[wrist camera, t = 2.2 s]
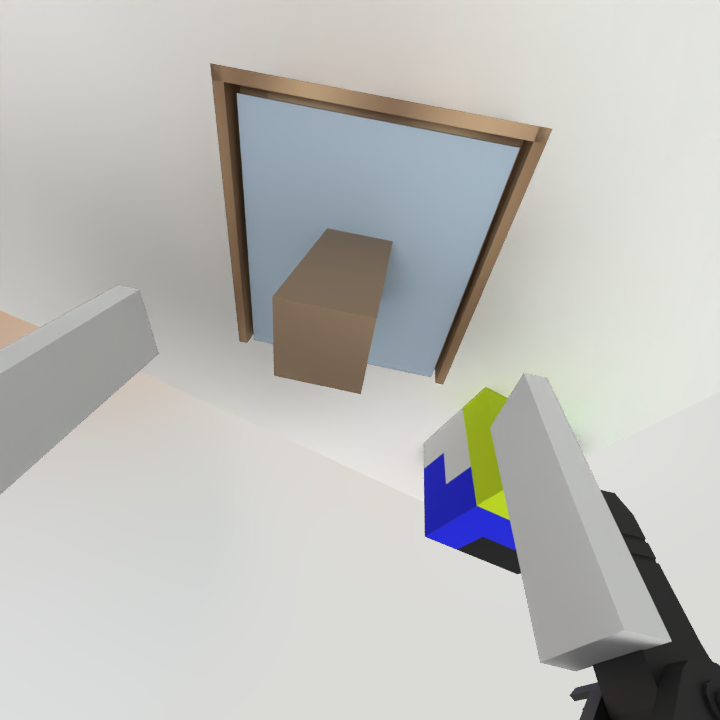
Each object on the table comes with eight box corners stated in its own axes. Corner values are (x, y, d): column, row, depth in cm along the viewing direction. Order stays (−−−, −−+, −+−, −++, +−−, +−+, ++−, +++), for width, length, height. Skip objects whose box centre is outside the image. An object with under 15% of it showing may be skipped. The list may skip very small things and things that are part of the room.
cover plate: (259, 331, 23) (188, 429, 16) (246, 94, 15) (85, 76, 8) (430, 367, 23) (435, 483, 16) (514, 145, 14) (605, 177, 7)
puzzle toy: (423, 442, 35) (424, 536, 27) (485, 386, 29) (509, 486, 21) (497, 476, 37) (517, 574, 29) (569, 430, 31) (620, 537, 23)
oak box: (273, 297, 27) (239, 341, 22) (269, 77, 18) (210, 63, 13) (438, 332, 26) (443, 384, 21) (514, 124, 18) (552, 128, 13)
